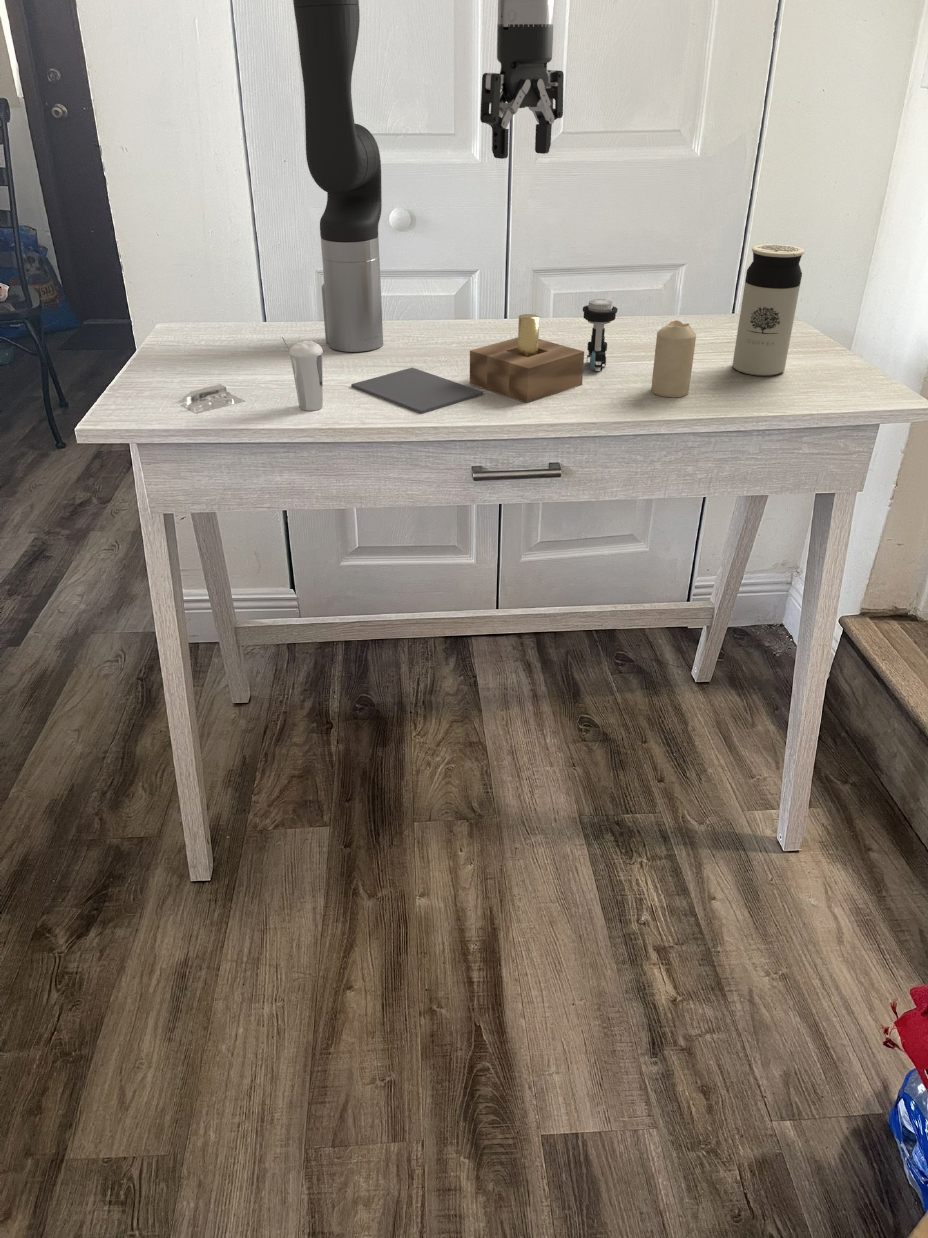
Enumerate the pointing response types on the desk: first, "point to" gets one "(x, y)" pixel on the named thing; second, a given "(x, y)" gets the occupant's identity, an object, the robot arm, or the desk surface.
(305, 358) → the milkshake
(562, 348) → the socket block
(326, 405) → the desk surface
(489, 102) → the robot arm
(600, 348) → the push button
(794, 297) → the travel mug
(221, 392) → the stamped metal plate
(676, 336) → the candle
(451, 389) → the mat
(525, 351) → the pin
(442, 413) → the desk surface
